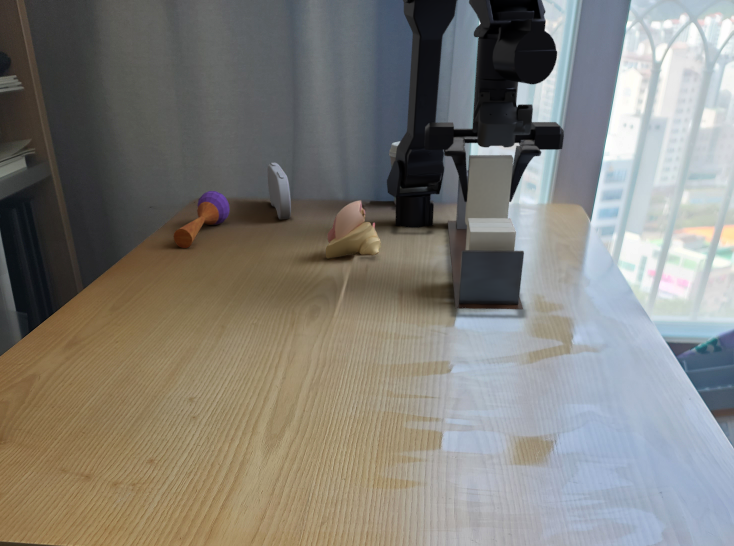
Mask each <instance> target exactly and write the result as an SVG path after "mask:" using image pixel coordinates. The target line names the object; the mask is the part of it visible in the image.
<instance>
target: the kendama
mask: <svg viewBox="0 0 734 546" xmlns="http://www.w3.org/2000/svg"><path fill="white" fill-rule="evenodd" d="M229 203H230V202H229V201H228V199H227V198H226V196H225V195H224V194H223V193H221V192H218V191H217V190H208V191H205V192H204V193H202V194H201V196H200V197H199V198H198V201H197V205H196V206H197V210H196V212H197V218H195V219H194V220H192V221H190V222H188V223H187V224H184V225H183V226H180V227H179V228H178V229H176V230H175V231H174V233H173V236H172V237H173V241H174V242H175V245H177V246H178V247H179V248H181V249H187V248H189V247H190V246H191V245H192V244H193V242H194V241H195V239H196V237H197V235H198V233H199V232H200V230H201V229H202V226H204V224H205V225H211V226H213V225H216V226H217V225H220V224H222V223H224V222H225V221H226V220H227V219H228V217H229V215H230V212H231V211H230V204H229Z"/></svg>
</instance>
